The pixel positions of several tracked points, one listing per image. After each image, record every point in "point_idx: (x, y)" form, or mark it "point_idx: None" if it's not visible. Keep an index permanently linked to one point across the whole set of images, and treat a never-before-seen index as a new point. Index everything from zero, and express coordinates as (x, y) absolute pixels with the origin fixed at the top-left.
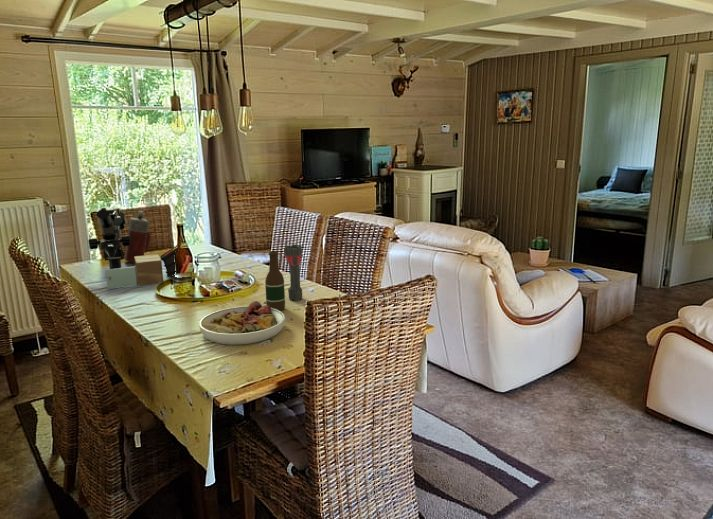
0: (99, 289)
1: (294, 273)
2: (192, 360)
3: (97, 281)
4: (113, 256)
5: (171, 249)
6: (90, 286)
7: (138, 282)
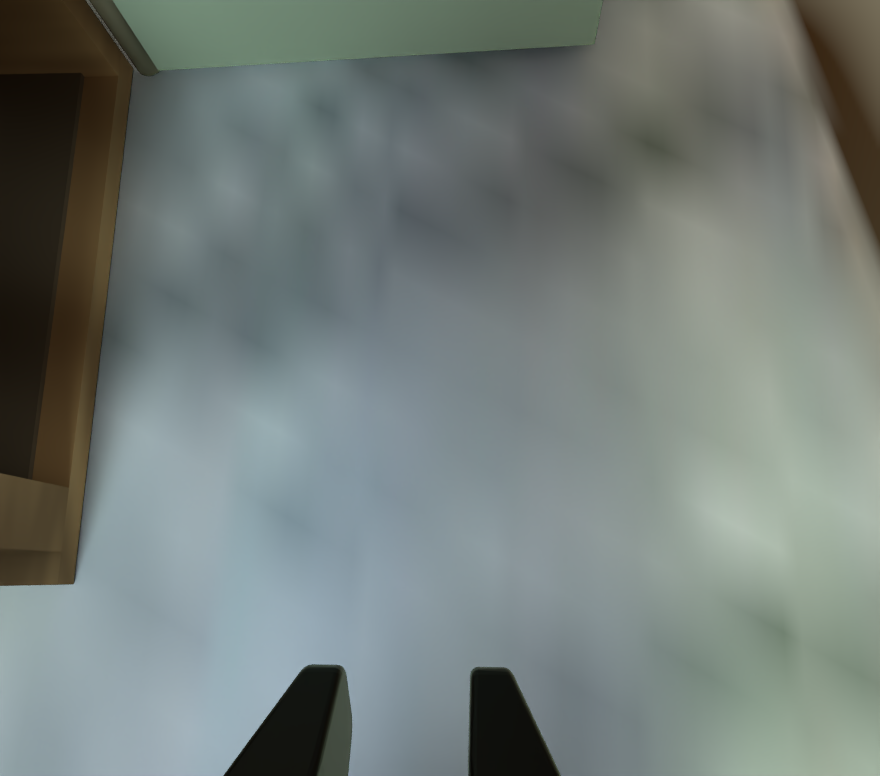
0: (713, 111)
1: None
2: None
3: (776, 710)
4: (347, 690)
5: None
6: (876, 374)
7: (110, 133)
